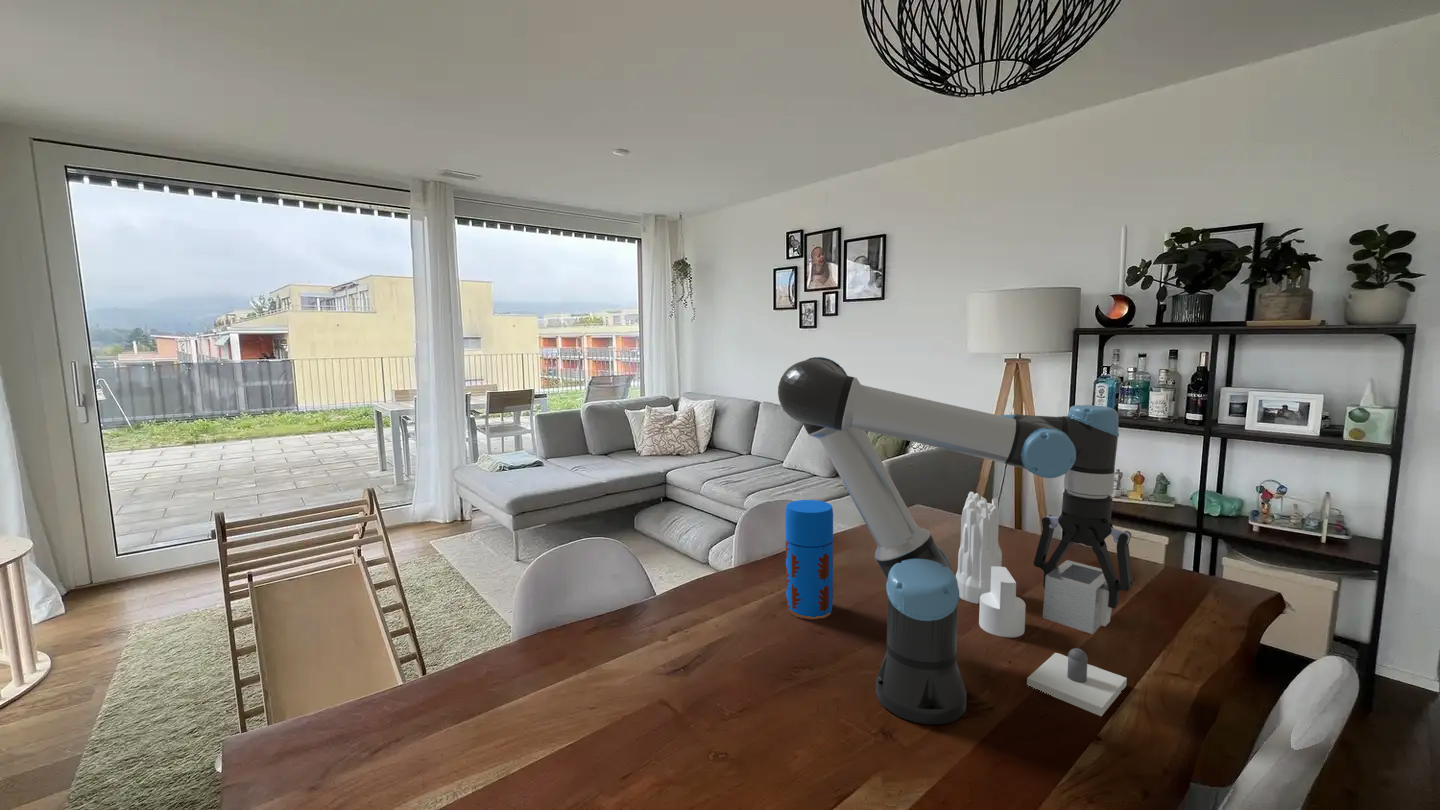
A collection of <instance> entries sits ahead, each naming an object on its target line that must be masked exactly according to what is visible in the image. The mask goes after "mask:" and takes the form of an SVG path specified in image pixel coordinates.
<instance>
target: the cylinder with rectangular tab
mask: <svg viewBox="0 0 1440 810" xmlns="http://www.w3.org/2000/svg"><path fill="white" fill-rule="evenodd" d="M978 615H979V616H978V625H979V627H980V629H982V630H983V631H984V632H986V633H988V634H991V635H993V636H998V637H1002V638H1017V637H1018V638H1019V637H1021V636H1023V635H1024V634H1025V629H1026V602H1025V601H1024V600H1023V599H1022V598H1021V597H1019V596H1017V582H1016V580H1015V579H1014V577H1013V576H1012V574H1011V573H1010V571H1009V569H1007V567H1005V566H1001V567H999V566H992V567H991V589H990V592H988V593H984V594H982V595H981V596H980V604H979V614H978Z"/></svg>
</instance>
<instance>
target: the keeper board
mask: <svg viewBox="0 0 1440 810" xmlns="http://www.w3.org/2000/svg"><path fill="white" fill-rule="evenodd" d="M1088 659H1089V657H1088V655H1087V653H1086V652H1085V651H1084V650H1083V649H1081V648H1076V647H1075V648H1071V649H1070V650H1069V652H1068V655H1067V656H1066V655H1064V654H1062V653H1057V652H1054V653H1053V654H1052V655H1051V656H1050V657H1049V658H1048V659H1046V660H1045V661H1044V662H1043V663H1042V664H1041V665H1040V666H1038V668H1037V669H1036V670H1034V671H1033V672H1032V673H1031V674H1030V675H1029V676H1028V677H1027V678H1026V686H1027V685H1028V686H1027V687H1029V686H1031V687H1033V688H1032V689H1034V688H1035V689H1034V690H1036V689H1038V690H1040V691H1039V692H1041V691H1042V692H1041V693H1043V692H1044V693H1043V694H1046V693H1047V694H1046V695H1048V694H1049V695H1048V696H1050V695H1051V697H1053V698H1055V699H1058V700H1060V701H1063V702H1065V703H1068V704H1070V705H1073V706H1075V707H1078V708H1080V709H1082V710H1084V711H1087V712H1090V713H1092V714H1094V715H1097V716H1099V717H1102V716H1103V715H1104V714H1105V713H1106V711H1107V710H1108V709H1109V708H1110V706H1112V704H1113V703H1114V702H1115V701H1116V699H1117V698H1118V697H1119V695H1120V694H1121V693H1122V692H1123V691H1124V689H1125V688H1126V687H1127V681H1128V679H1127V677H1125V676H1123V675H1120V674H1118V673H1113V672H1111V671H1108V670H1105V669H1102V668H1100V667H1099V666H1098V667H1097V666H1095V665H1091V664H1088V661H1089V660H1088ZM1031 687H1030V688H1031ZM1038 690H1037V691H1038ZM1122 690H1123V691H1122ZM1121 691H1122V692H1121Z"/></svg>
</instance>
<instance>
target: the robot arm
mask: <svg viewBox="0 0 1440 810" xmlns="http://www.w3.org/2000/svg"><path fill="white" fill-rule="evenodd" d="M777 396H778V401H779V404H780V407H781V408H782V410H783V411H784V412H785V413H786V415H788V416H789V417H790V418H792V419H793V420H795V421H797V422H799V423H801V424H802V426H803V427H804V429H805V431H806V433H807V434H808V436H810V437H813V438H815V439H818V440H819V441H820V442H821V444H822V446H823V447H824V450H825V451H826V454H827V455H828V457H829V460H830V461H831V463H832V464H833V466H834V468H835V470H836V472H837V473H838V476H839V477H840V479H841V481H842V483H843V485H844V486H845V488H846V490H847V492H848V494H849V496H850V497H851V498H850V499H852V501H853V503H854V505H855V507H856V509H857V510H858V512H859V514H860V517H862V520H863V522H864V523H865V526H866V527H867V529H868V530H869V532H870V534H871V536H872V538H873V539H874V542H875V544H876V545H877V546H876V550H875V553H874V558H875V559H876V562H877V563H878V565H879V567H880V569H881V570H882V573H883V575H884V576H885V579H886V583H885V584H886V585H885V587H886V593H887V594H886V595H887V600H886V601H887V603H886V604H887V607H886V651H885V655H884V658H883V660H882V663H881V665H880V668H879V671H878V673H877V676H876V681H875V694H877V695H876V697H878V698H877V700H878V701H879V703H880V704H881V705H882V707H884V708H885V709H886V708H887V709H888V710H889V711H888V710H887V709H886V710H887V711H888V712H890V711H891V712H892V714H893V713H894V714H893V715H895V714H896V715H895V716H897V717H899V718H901V719H903V718H904V720H906V719H907V720H906V721H909V720H910V722H912V721H913V722H912V723H917V724H922V725H932V724H933V725H934V724H935V725H945V724H949V723H953V722H955V721H957V720H959V719H960V718H961V717H962V716H963V715H964V714H965V712H966V709H967V691H966V688H965V685H964V682H963V679H962V675H961V672H960V668H959V666H958V661H957V656H958V654H957V653H958V652H957V650H958V644H957V643H958V616H959V613H958V612H959V611H958V610H959V601H960V598H959V588H958V581H957V578H956V574H955V572H953V571H952V569H953V568H952V565H951V562H950V561H949V558H948V557H947V555H946V554H945V553H944V551H943V550H942V549H941V548H940V547H939V546H938V545H937V543H936V541H935V539H934V538H933V536H932V535H931V533H930V531H929V530H928V529H925V528H922V527H920V526H918V525H917V523H916V522H915V519H914V518H913V515H912V513H911V512H910V510H909V508H908V507H907V504H905V501H904V499H903V498H902V496H901V494H900V492H899V490H898V489H897V486H896V485H895V483H894V480H892V477H891V476H890V474H889V471H888V470H887V468H886V466H885V465H884V463H883V461H882V458H881V457H880V455H879V453H878V452H877V450H876V448H875V446H874V444H873V442H872V440H871V439H870V437H869V436H868V434H867V432H870V433H875V434H879V435H883V436H888V437H892V438H896V439H900V440H904V441H908V442H912V443H918V444H921V445H926V446H930V447H934V448H938V449H943V450H946V451H950V452H955V453H959V454H964V455H966V456H971V457H972V456H973V457H975V458H976V457H977V458H980V459H985V460H988V461H993V462H997V463H1001V464H1005V465H1008V466H1012V467H1016V468H1021V469H1025V470H1027V471H1028V472H1029V473H1031V474H1033V475H1035V476H1037V477H1041V478H1044V479H1053V478H1056V479H1057V478H1059V477H1061V476H1063V475H1064V477H1063V488H1064V491H1063V493H1062V505H1061V514H1060V515H1059V516H1053V515H1052V514H1047V515H1046V516H1044V517H1042V518H1041V526H1042V531H1041V534H1040V538H1039V543H1038V546H1037V549H1036V553H1035V557H1034V560H1033V565H1034V567H1035V568H1039V569H1041V570H1042V571H1043V582H1042V583H1043V585H1042V586H1043V589H1045V579H1046V575H1047V574H1048V573H1050V572H1051V571H1053V570H1054V569H1055V568H1057V567H1058V566H1059V563H1060V562H1061V560H1062V558H1063V557H1064V556H1065V554H1066V553H1067V551H1068V550H1069V548H1070V546H1071V545H1072V543H1073V544H1082V545H1084V546H1086V547H1091V549H1092V551H1093V553H1094V554H1095V556H1096V558H1097V561H1098V564H1099V568H1100V569H1102V572H1103V574H1104V577H1105V580H1106V582H1107V585H1108V586H1107V587H1106V588H1105V589H1104V590H1103V601H1102V613H1101V624H1100V625H1101V626H1103V627H1106V626H1108V624H1109V623H1110V622H1111V616H1112V614H1111V608H1112V609H1114V610H1115V609H1116V608H1117V607H1118V605H1119V603H1120V602H1119V600H1120V599H1119V597H1120V592H1121V591H1124V592H1128V591H1129V590H1131V588H1132V587H1134V581H1133V580H1134V579H1133V571H1132V563H1131V556H1130V546H1129V544H1130V541H1131V537H1132V533H1131V531H1128V530H1125V531H1122V530H1119V529H1117V528H1115V527H1114V526H1113V524H1112V519H1111V518H1112V511H1113V510H1112V509H1113V508H1112V507H1113V498H1112V496H1111V495H1112V494H1114V486H1115V485H1114V484H1115V473H1116V471H1115V466H1116V456H1117V448H1118V441H1119V440H1118V439H1119V436H1120V434H1119V425H1120V424H1119V413H1118V412H1117V409H1114V408H1112V407H1109V406H1103V405H1092V404H1083V405H1082V404H1081V405H1080V404H1077V405H1072V406H1070V408H1069V410H1068V413H1067V415H1064V416H1063V415H1062V416H1050V415H1048V416H1046V415H1030V414H1029V415H1026V414H1019V413H1014V414H995V413H989V412H984V411H980V410H975V409H972V408H968V407H962V406H958V405H953V404H949V403H945V402H939V401H936V400H931V399H927V398H922V397H918V396H913V395H908V394H904V393H899V392H896V391H891V390H885V389H882V388H877V387H872V386H868V385H864V384H861V382H860V381H859V380H858V378H857V377H855V376H851V375H848V374H847V372H846V371H845V369H844V368H843V367H842V366H841V365H840V364H839V363H837V362H836V361H834V360H833V359H831V358H827V357H824V356H817V357H816V356H815V357H813V356H812V357H810V358H807V359H805V360H801V361H799V362H796V363H794V364H792V365H791V366H790V367H788V368H787V369H786V370H785V371H784V372H783V374H782V376H781V378H780V380H779V382H778V387H777ZM866 431H867V432H866ZM1058 525H1059V526H1060V527H1061V529H1062V530H1063V532H1064V536H1063V537H1062V539H1061V540H1060V542H1059V544H1058V546H1057V547H1056V549H1055V550H1054V552H1053V553H1052V555H1051V556H1050V558H1049V559H1048V561H1046V560H1047V556H1048V553H1049V549H1050V546H1051V542H1052V538H1053V536H1054V535H1053V534H1054V531H1055V529H1056V528H1057V527H1058ZM1109 536H1112V538H1113V542H1114V543H1116V555H1117V556H1116V557H1117V564H1118V573H1119V576H1118V573H1117V571H1116V569H1115V567H1114V563H1113V560H1112V559H1111V556H1110V554H1109V551H1108V546H1107V543H1106V540H1105V539H1106V538H1108V537H1109ZM891 712H890V713H891Z"/></svg>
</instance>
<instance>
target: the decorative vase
mask: <svg viewBox="0 0 1440 810" xmlns="http://www.w3.org/2000/svg"><path fill="white" fill-rule="evenodd" d="M999 515H1000V512H999V499H997V498H996V497H993V498H992V499H991V503H990V502H988V501H987V499H986V497H983V496H980V494H979V493H977V492H976V493H974V491H969V492H968V494H967V498H966V499H965V503H964V507H963V509H962V513H961V518H960V520H961V521H960V522H961V523H960V546H959V549H958V557H957V570H956V574H955V576H956V578H957V581H958V588H959V599H961V600H964V601H965V602H968V603H972V604H976V605H978V604H979V605H980V596H981V595H982V594H984V593H988V592H990V589H991V567H992V566H999V567H1002V563H1003V561H1002V560H1003V558H1002V557H1003V553H1002V549H1001V547H1000V543H999V526H1000V525H999V521H1000V520H999V519H1000V516H999Z"/></svg>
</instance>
